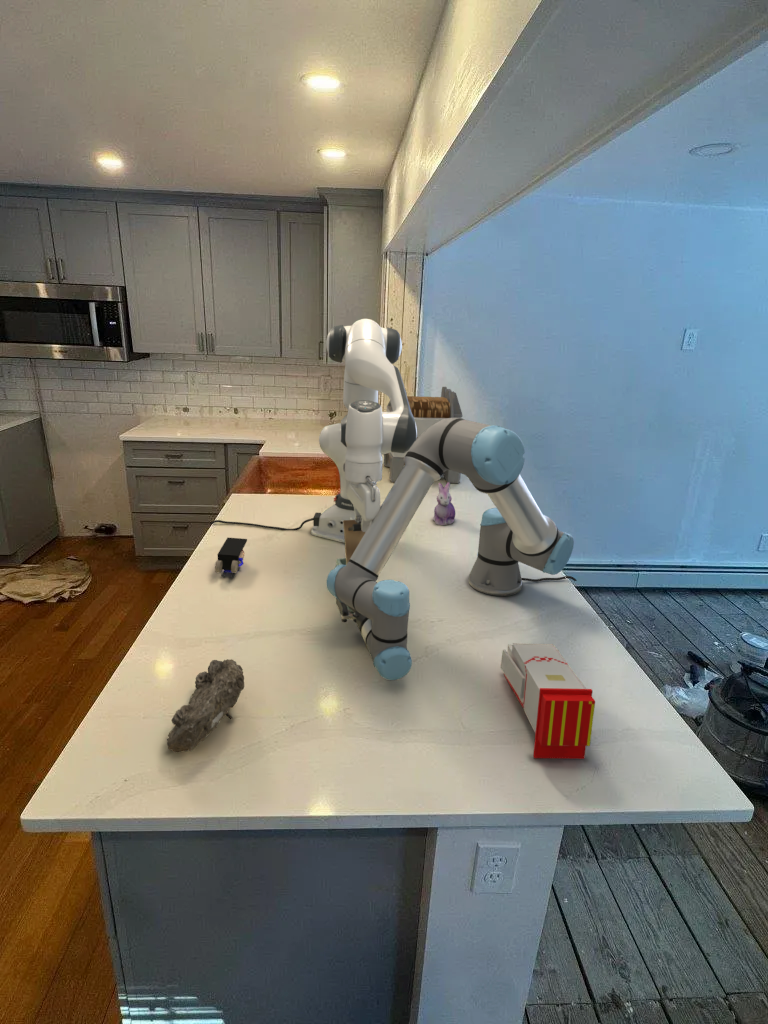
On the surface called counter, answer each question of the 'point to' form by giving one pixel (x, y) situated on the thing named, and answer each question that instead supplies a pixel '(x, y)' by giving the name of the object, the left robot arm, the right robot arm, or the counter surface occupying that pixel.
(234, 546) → the figurine character
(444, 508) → the figurine
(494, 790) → the counter surface
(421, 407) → the transformer
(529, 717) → the toy
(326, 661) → the counter surface
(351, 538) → the lid
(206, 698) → the fossil
